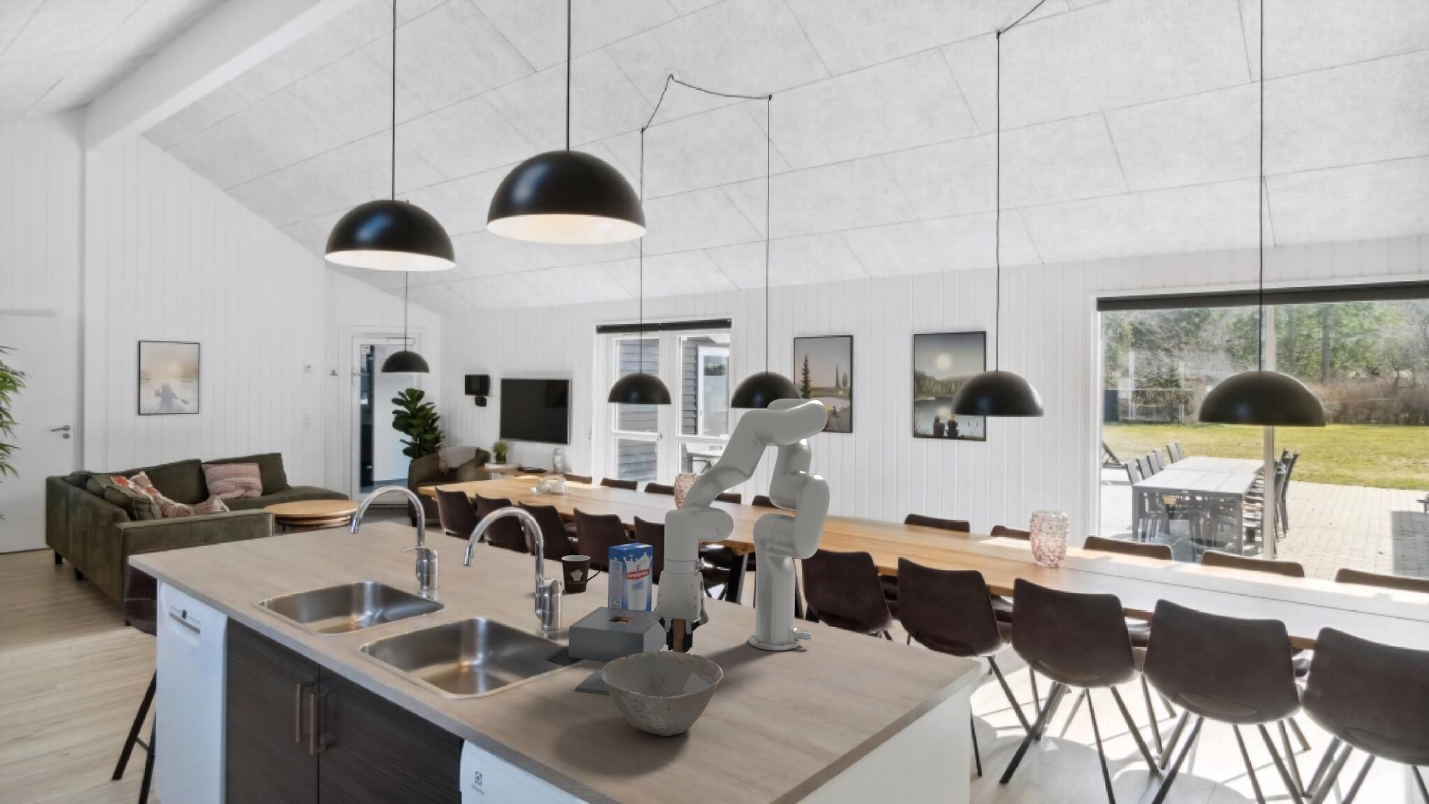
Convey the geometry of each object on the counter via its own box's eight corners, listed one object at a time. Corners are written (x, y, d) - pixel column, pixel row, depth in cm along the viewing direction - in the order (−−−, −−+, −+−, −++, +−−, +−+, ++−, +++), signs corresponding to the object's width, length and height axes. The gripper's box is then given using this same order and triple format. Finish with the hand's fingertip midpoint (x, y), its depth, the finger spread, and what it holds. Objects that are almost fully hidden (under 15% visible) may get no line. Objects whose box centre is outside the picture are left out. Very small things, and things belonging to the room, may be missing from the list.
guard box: (668, 641, 190) (668, 612, 190) (643, 665, 173) (643, 634, 173) (599, 634, 195) (600, 606, 195) (568, 657, 177) (569, 626, 177)
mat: (639, 678, 165) (639, 676, 165) (621, 696, 155) (621, 693, 155) (595, 673, 167) (595, 671, 167) (575, 690, 157) (575, 687, 157)
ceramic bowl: (620, 764, 126) (622, 702, 126) (585, 710, 147) (586, 658, 147) (744, 742, 135) (745, 685, 135) (694, 695, 156) (695, 645, 156)
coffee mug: (556, 593, 235) (557, 560, 235) (566, 586, 243) (567, 554, 243) (593, 595, 233) (594, 562, 233) (602, 588, 242) (603, 556, 242)
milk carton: (636, 615, 212) (637, 542, 212) (651, 620, 208) (652, 545, 208) (607, 622, 205) (608, 546, 205) (622, 627, 201) (623, 550, 201)
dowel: (687, 666, 173) (688, 603, 173) (683, 670, 170) (684, 606, 170) (674, 665, 174) (675, 602, 174) (670, 669, 171) (671, 605, 171)
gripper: (721, 565, 173) (719, 648, 173) (651, 560, 177) (649, 641, 177) (712, 572, 166) (710, 658, 166) (640, 567, 170) (638, 651, 170)
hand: (679, 648), depth 172 cm, fingers closed on dowel, 3 cm apart
